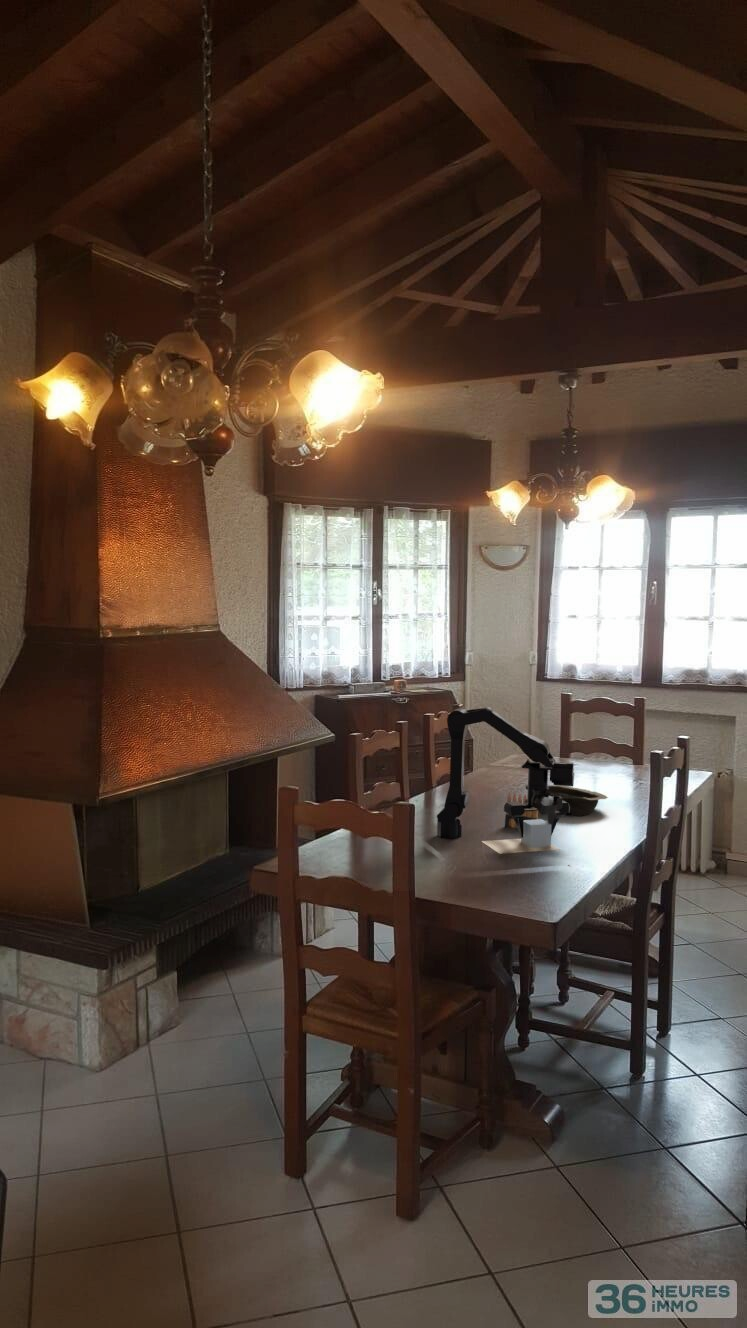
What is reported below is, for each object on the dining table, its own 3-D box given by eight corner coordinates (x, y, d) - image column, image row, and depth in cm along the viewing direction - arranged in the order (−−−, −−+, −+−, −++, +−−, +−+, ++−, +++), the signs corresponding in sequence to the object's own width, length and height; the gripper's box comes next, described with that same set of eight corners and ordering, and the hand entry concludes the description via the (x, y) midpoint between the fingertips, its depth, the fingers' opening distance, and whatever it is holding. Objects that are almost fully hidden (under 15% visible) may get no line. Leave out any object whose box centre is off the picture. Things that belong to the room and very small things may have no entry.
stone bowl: (524, 813, 306) (525, 785, 306) (545, 804, 329) (546, 778, 328) (596, 821, 295) (598, 793, 295) (614, 811, 317) (615, 785, 317)
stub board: (499, 857, 254) (499, 839, 254) (481, 845, 267) (481, 827, 266) (560, 853, 260) (560, 835, 259) (539, 841, 272) (540, 824, 272)
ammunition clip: (538, 833, 281) (539, 795, 280) (536, 834, 280) (537, 796, 279) (506, 828, 287) (507, 791, 286) (504, 829, 285) (505, 792, 284)
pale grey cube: (530, 847, 261) (531, 825, 260) (521, 841, 267) (521, 820, 266) (550, 846, 262) (551, 824, 262) (540, 840, 269) (541, 819, 268)
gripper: (520, 791, 253) (518, 845, 254) (580, 788, 258) (578, 841, 259) (503, 783, 264) (502, 835, 265) (561, 780, 269) (559, 831, 270)
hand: (536, 836), depth 264 cm, fingers open, 9 cm apart
